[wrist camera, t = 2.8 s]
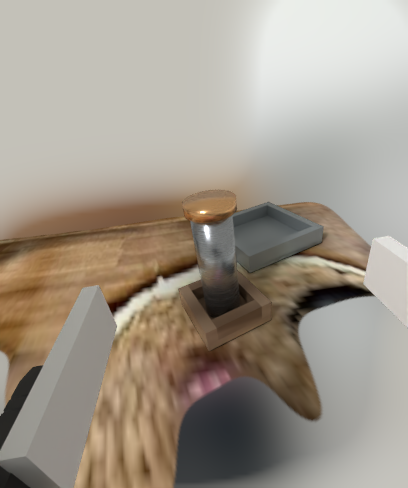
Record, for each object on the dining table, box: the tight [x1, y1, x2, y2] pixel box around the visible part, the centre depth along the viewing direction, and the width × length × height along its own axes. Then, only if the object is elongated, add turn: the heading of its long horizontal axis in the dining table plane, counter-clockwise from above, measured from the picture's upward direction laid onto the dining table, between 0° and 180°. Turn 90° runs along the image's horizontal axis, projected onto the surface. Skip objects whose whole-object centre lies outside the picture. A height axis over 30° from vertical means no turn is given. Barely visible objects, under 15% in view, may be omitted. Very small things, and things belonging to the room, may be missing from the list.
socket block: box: [178, 270, 271, 351], centre depth 27 cm, size 7×7×2 cm
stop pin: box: [182, 190, 240, 318], centre depth 24 cm, size 4×4×12 cm
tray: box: [233, 202, 323, 273], centre depth 38 cm, size 12×12×2 cm
